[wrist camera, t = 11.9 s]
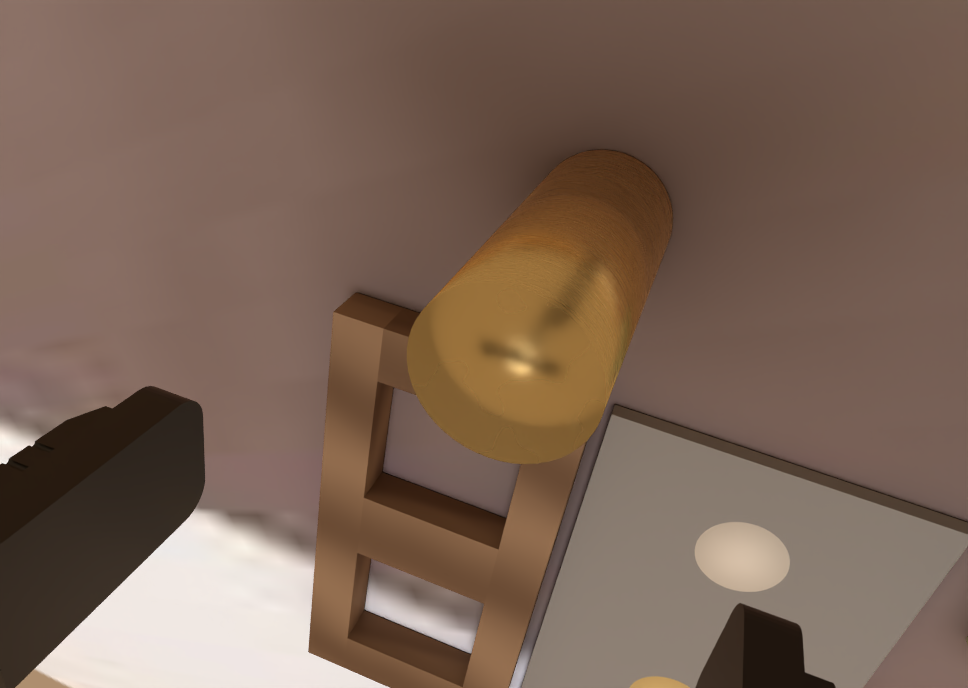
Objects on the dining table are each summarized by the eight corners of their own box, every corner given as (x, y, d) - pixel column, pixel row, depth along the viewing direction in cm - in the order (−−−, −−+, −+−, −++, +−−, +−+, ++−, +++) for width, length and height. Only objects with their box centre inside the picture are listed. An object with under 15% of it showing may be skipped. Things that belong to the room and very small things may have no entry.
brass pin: (559, 129, 21) (429, 249, 13) (695, 180, 20) (638, 336, 13) (520, 252, 23) (390, 413, 16) (641, 302, 22) (566, 494, 15)
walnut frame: (356, 292, 25) (333, 311, 24) (608, 374, 24) (598, 400, 22) (325, 624, 35) (308, 651, 34) (504, 701, 33) (493, 732, 32)
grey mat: (614, 404, 24) (611, 414, 24) (969, 523, 22) (974, 536, 22) (519, 692, 33) (515, 704, 32) (770, 797, 30) (770, 812, 30)
